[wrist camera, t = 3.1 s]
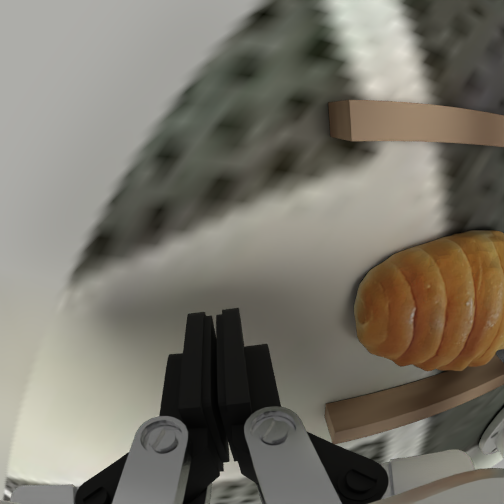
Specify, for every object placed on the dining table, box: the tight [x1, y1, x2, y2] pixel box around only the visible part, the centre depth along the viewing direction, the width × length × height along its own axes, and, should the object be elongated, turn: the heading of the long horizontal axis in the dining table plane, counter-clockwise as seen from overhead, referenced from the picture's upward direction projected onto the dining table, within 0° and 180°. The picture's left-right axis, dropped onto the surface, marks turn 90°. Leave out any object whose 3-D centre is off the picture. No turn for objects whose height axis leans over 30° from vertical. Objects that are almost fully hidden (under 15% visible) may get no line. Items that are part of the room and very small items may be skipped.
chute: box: [325, 100, 504, 444], centre depth 12 cm, size 12×15×2 cm
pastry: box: [354, 230, 504, 371], centre depth 12 cm, size 9×7×4 cm
